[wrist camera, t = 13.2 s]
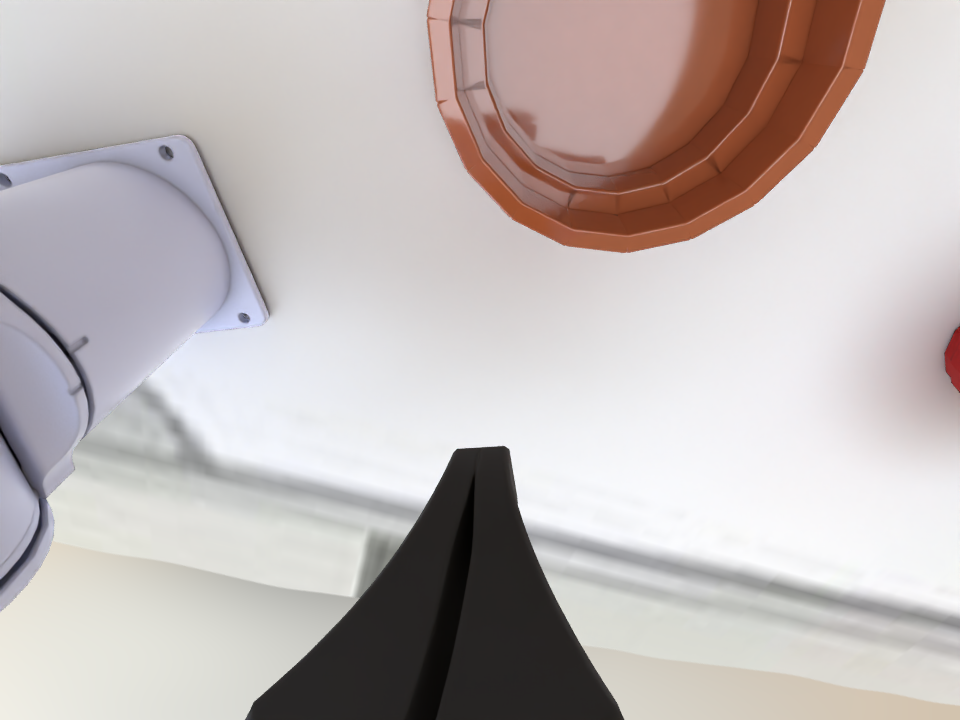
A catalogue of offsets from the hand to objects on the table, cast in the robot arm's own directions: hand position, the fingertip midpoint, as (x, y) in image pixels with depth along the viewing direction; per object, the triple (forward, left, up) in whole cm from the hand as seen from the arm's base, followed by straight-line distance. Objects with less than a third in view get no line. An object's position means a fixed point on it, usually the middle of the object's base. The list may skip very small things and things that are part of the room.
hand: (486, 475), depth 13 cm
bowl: (+5, +9, -10) cm, 14 cm away
